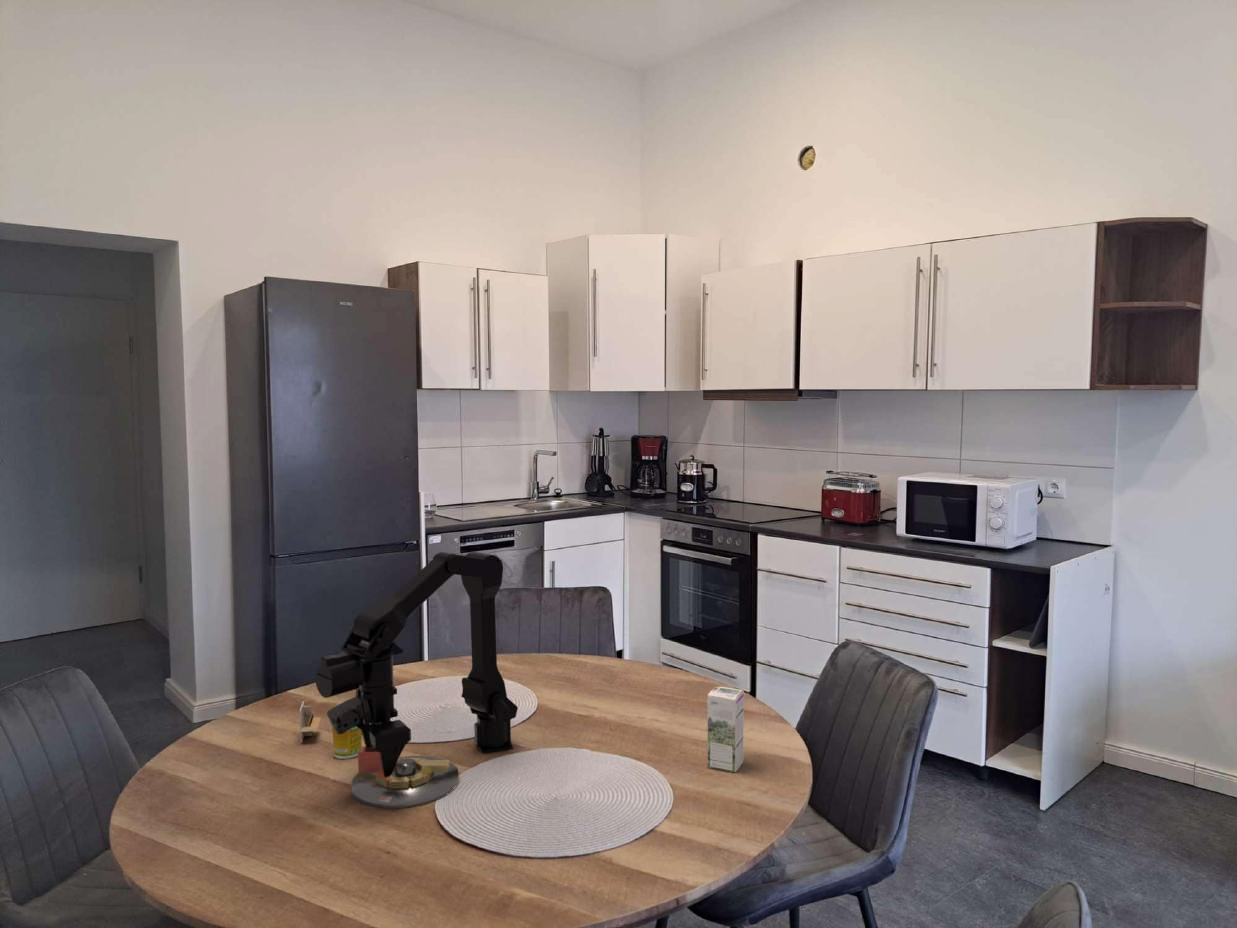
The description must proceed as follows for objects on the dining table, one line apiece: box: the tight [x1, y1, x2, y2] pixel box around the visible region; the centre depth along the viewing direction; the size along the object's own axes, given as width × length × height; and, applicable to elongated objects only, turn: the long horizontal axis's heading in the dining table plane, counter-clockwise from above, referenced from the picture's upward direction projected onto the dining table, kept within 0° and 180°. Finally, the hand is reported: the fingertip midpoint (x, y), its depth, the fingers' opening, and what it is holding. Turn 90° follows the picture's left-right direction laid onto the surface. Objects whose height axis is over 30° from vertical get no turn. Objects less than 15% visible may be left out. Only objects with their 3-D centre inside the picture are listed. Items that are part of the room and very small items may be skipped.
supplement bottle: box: [331, 726, 363, 760], centre depth 168 cm, size 5×5×10 cm
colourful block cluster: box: [357, 746, 450, 788], centre depth 155 cm, size 13×13×5 cm
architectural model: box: [299, 700, 322, 744], centre depth 176 cm, size 3×7×7 cm, turn 14°
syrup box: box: [706, 685, 745, 773], centre depth 162 cm, size 6×6×14 cm
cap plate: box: [350, 755, 459, 810], centre depth 155 cm, size 19×19×4 cm
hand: (379, 766), depth 153 cm, fingers open, 9 cm apart
